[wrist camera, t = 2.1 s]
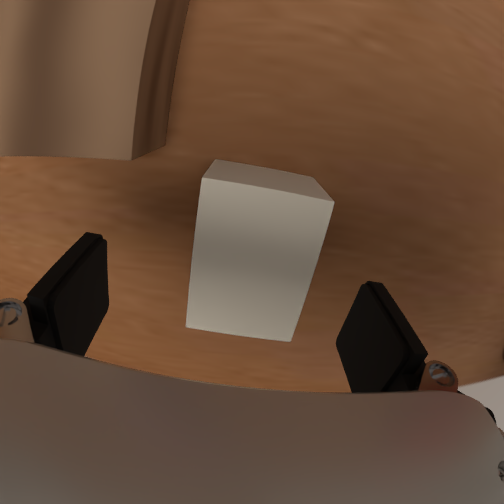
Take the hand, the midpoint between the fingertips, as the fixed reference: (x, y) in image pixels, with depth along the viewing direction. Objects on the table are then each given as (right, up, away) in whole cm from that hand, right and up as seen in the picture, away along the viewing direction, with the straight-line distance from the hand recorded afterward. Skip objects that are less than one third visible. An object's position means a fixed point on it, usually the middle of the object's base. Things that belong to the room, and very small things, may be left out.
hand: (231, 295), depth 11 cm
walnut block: (-7, +13, +1) cm, 14 cm away
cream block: (+1, +3, +6) cm, 7 cm away
